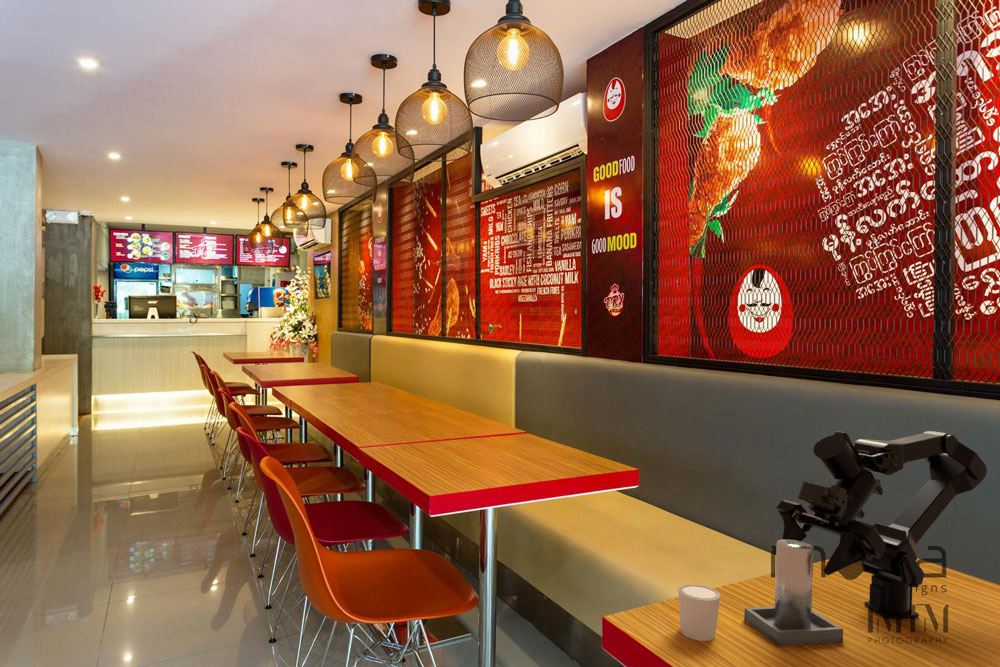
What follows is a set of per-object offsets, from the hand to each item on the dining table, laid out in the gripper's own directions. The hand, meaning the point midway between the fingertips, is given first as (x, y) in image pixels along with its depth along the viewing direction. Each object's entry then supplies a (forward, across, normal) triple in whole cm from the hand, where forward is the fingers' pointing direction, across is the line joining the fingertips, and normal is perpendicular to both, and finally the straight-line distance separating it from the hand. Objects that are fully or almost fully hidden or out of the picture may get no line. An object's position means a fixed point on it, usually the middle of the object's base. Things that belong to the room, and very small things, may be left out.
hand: (802, 564), depth 112 cm
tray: (+9, 0, +6) cm, 11 cm away
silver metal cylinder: (+9, 0, +6) cm, 11 cm away
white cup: (+21, -5, -5) cm, 22 cm away
